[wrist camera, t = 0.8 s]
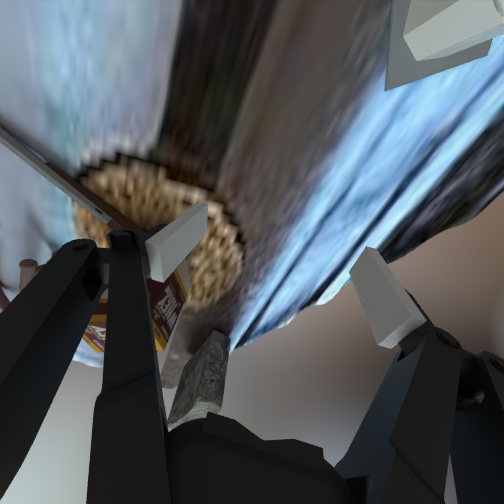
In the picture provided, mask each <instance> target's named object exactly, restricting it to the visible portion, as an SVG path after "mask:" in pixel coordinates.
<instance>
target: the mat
mask: <svg viewBox="0 0 504 504" xmlns="http://www.w3.org/2000/svg"><path fill="white" fill-rule="evenodd" d="M410 3H411V0H392V7H391V19H390V32H389V44H388V57H387V69H386V81H385V91H387V90H390V89H393V88H396V87H399V86H402V85H404V84H407V83H410V82H413V81H416V80H419V79H422V78H424V77H427V76H430V75H433V74H436V73H439V72H441V71H444V70H447V69H450V68H453V67H456V66H459V65H461V64H464V63H467V62H470V61H473V60H476V59H478V58H481V57H484V56H487V55H488V52H489V49H490V45H491V42H492V39H490V40H487V41H484V42H482V43H479V44H477V45H474V46H472V47H469V48H467V49H464V50H461V51H459V52H456V53H454V54H451V55H449V56H446V57H440V58H434V59H428V60H421V61H416V59H415V57H414V55H413V54H412V52H411V50H410V48H409V46H408V45H407V43H406V41H405V39H404V37H403V36H404V35H403V33H404V29H405V24H406V20H407V16H408V12H409V7H410Z"/></svg>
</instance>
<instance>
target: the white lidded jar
mask: <svg viewBox="0 0 504 504" xmlns="http://www.w3.org/2000/svg"><path fill="white" fill-rule="evenodd" d="M502 34H504V0H411V3H410V7H409V12H408V16H407V20H406V24H405V29H404V33H403V35H404V36H403V37H404V39H405V41H406V43H407V45H408V46H409V48H410V50H411V52H412V54H413V55H414V57H415V59H416V61H421V60H428V59H434V58H440V57H446V56H449V55H451V54H454V53H456V52H459V51H461V50H464V49H467V48H469V47H472V46H474V45H477V44H479V43H482V42H484V41H487V40H490V39H492V38H495V37H497V36H500V35H502Z"/></svg>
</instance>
